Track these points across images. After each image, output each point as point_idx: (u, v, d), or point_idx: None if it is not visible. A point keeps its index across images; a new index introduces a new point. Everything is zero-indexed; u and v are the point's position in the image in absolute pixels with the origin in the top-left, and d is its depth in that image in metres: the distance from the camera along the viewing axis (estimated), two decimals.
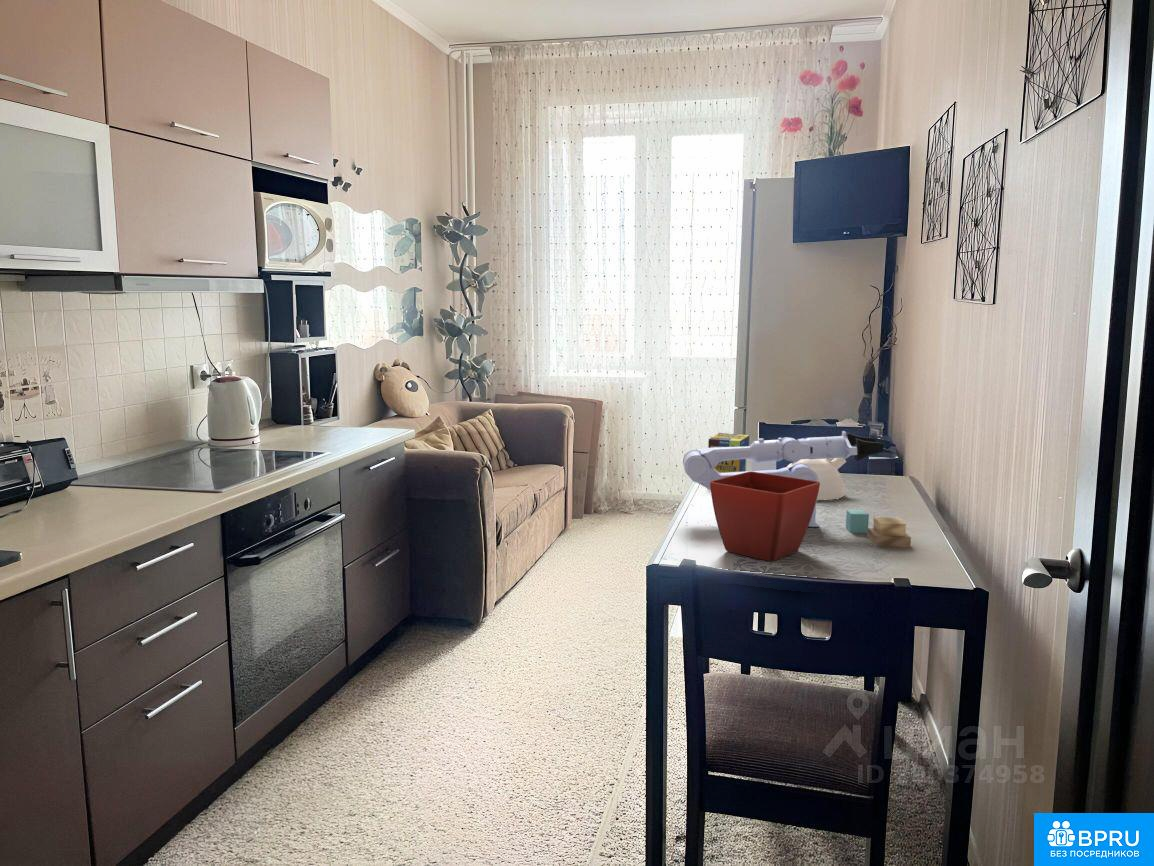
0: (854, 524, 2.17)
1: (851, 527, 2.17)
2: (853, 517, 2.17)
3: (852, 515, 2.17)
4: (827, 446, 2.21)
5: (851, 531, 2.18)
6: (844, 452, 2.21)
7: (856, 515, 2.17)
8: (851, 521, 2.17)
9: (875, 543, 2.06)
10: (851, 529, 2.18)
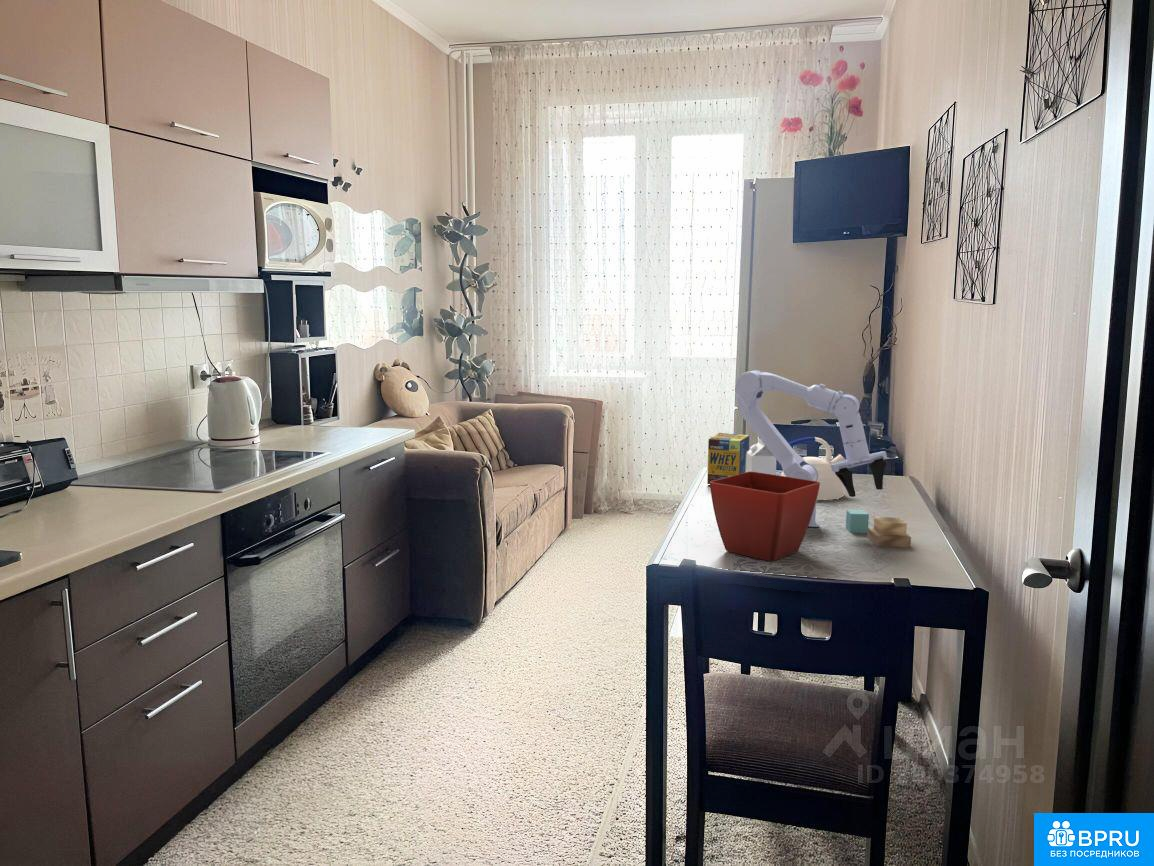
0: (854, 524, 2.17)
1: (851, 527, 2.17)
2: (853, 517, 2.17)
3: (852, 515, 2.17)
4: (846, 443, 2.17)
5: (851, 531, 2.18)
6: None
7: (856, 515, 2.17)
8: (851, 521, 2.17)
9: (875, 543, 2.06)
10: (851, 529, 2.18)
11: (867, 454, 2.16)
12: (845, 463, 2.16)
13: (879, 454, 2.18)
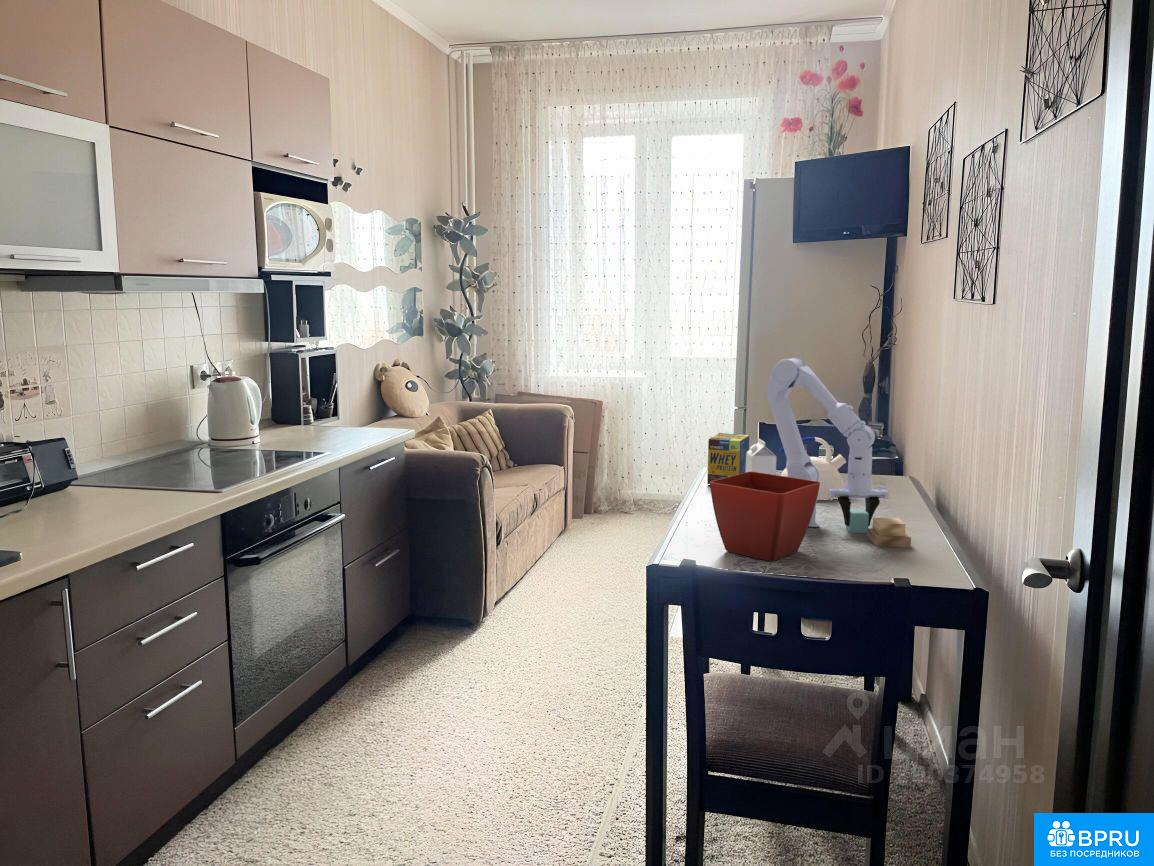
0: (854, 524, 2.17)
1: (852, 527, 2.17)
2: (853, 517, 2.17)
3: (852, 515, 2.17)
4: (849, 473, 2.17)
5: (851, 531, 2.18)
6: (847, 488, 2.19)
7: (856, 515, 2.17)
8: (851, 521, 2.17)
9: (875, 543, 2.06)
10: (851, 529, 2.18)
11: (867, 489, 2.16)
12: (842, 492, 2.17)
13: (880, 492, 2.17)
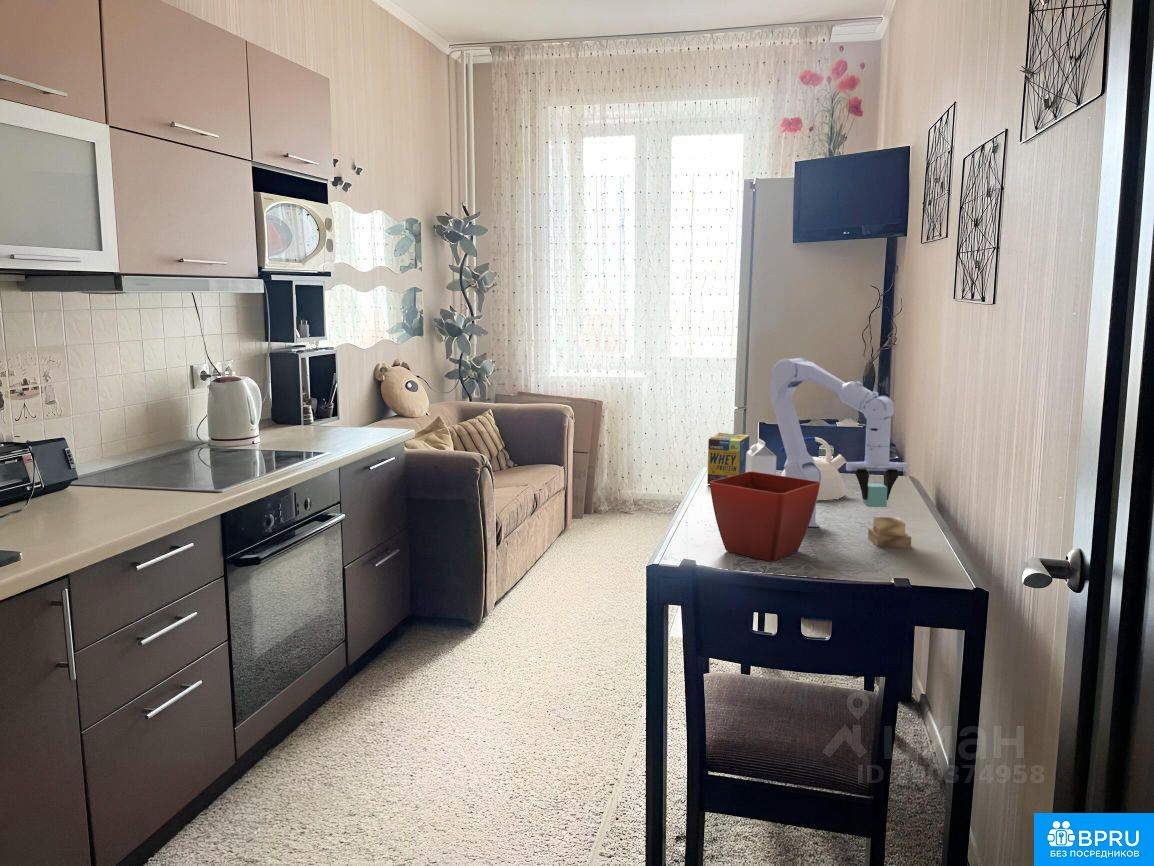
0: (872, 498, 2.10)
1: (870, 501, 2.11)
2: (871, 490, 2.10)
3: (870, 488, 2.10)
4: (867, 445, 2.10)
5: (869, 505, 2.11)
6: (864, 461, 2.13)
7: (874, 488, 2.10)
8: (869, 494, 2.10)
9: (875, 543, 2.05)
10: (869, 503, 2.11)
11: (885, 462, 2.09)
12: (860, 465, 2.10)
13: (899, 465, 2.10)
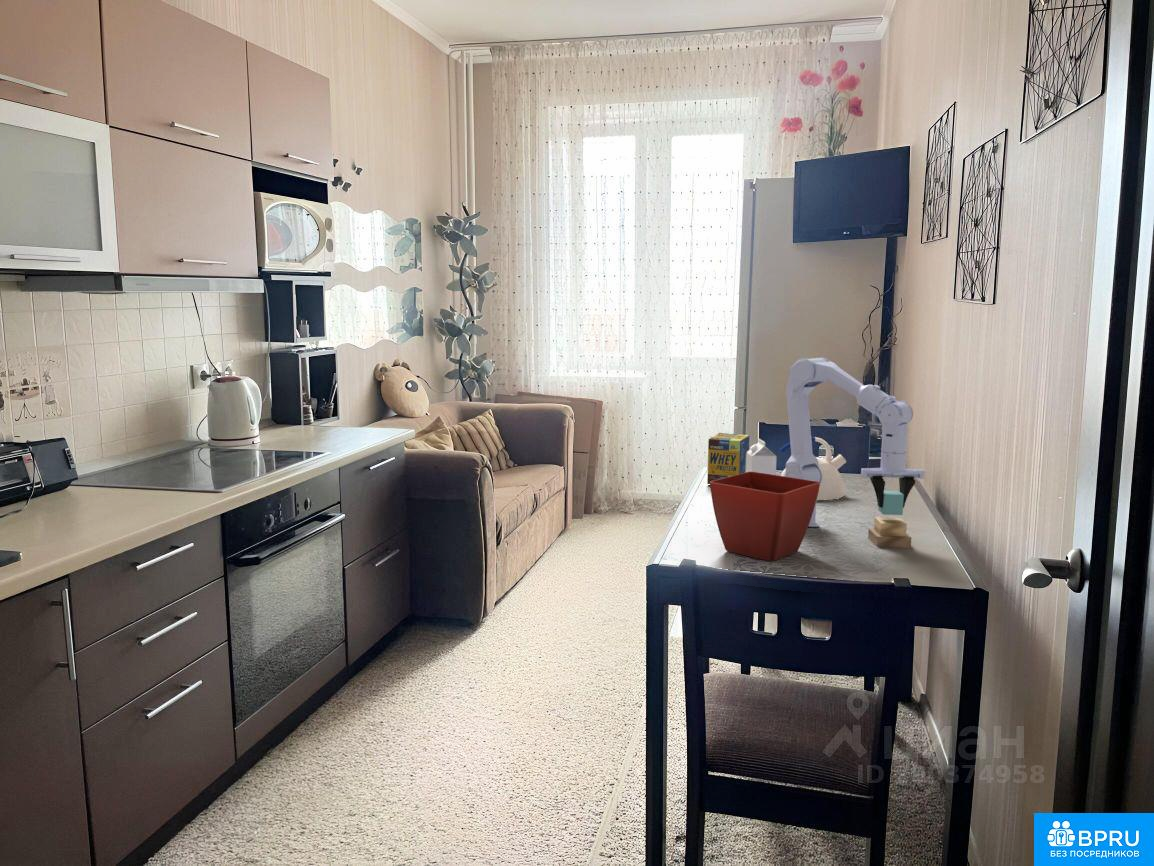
0: (888, 505, 2.05)
1: (885, 508, 2.05)
2: (887, 498, 2.05)
3: (886, 496, 2.05)
4: (883, 451, 2.05)
5: (885, 513, 2.05)
6: None
7: (890, 496, 2.05)
8: (885, 502, 2.05)
9: (875, 543, 2.05)
10: (885, 510, 2.05)
11: (902, 469, 2.03)
12: (875, 471, 2.05)
13: (916, 472, 2.04)
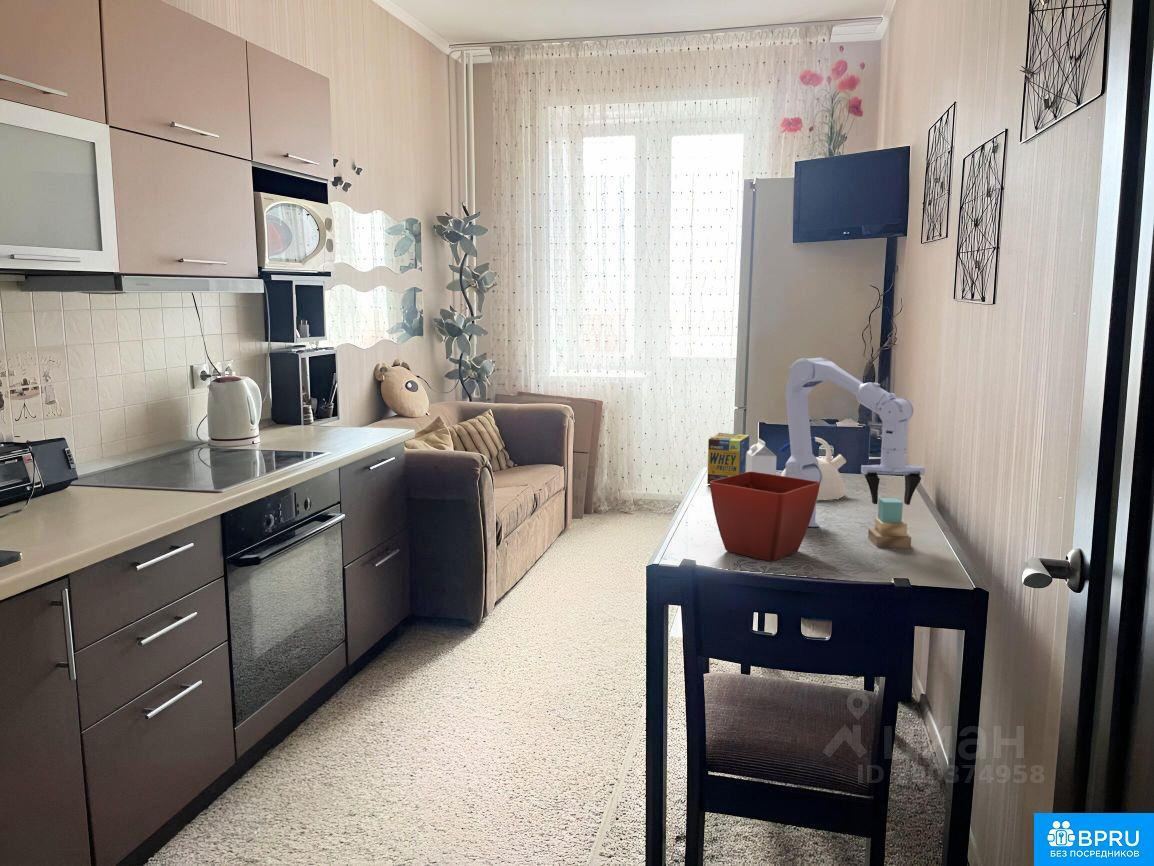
0: (887, 513, 2.06)
1: (884, 516, 2.06)
2: (886, 505, 2.05)
3: (885, 503, 2.05)
4: (883, 448, 2.05)
5: (884, 520, 2.06)
6: None
7: (889, 503, 2.05)
8: (884, 510, 2.06)
9: (875, 543, 2.05)
10: (884, 518, 2.06)
11: (902, 465, 2.03)
12: (875, 468, 2.05)
13: (916, 469, 2.04)
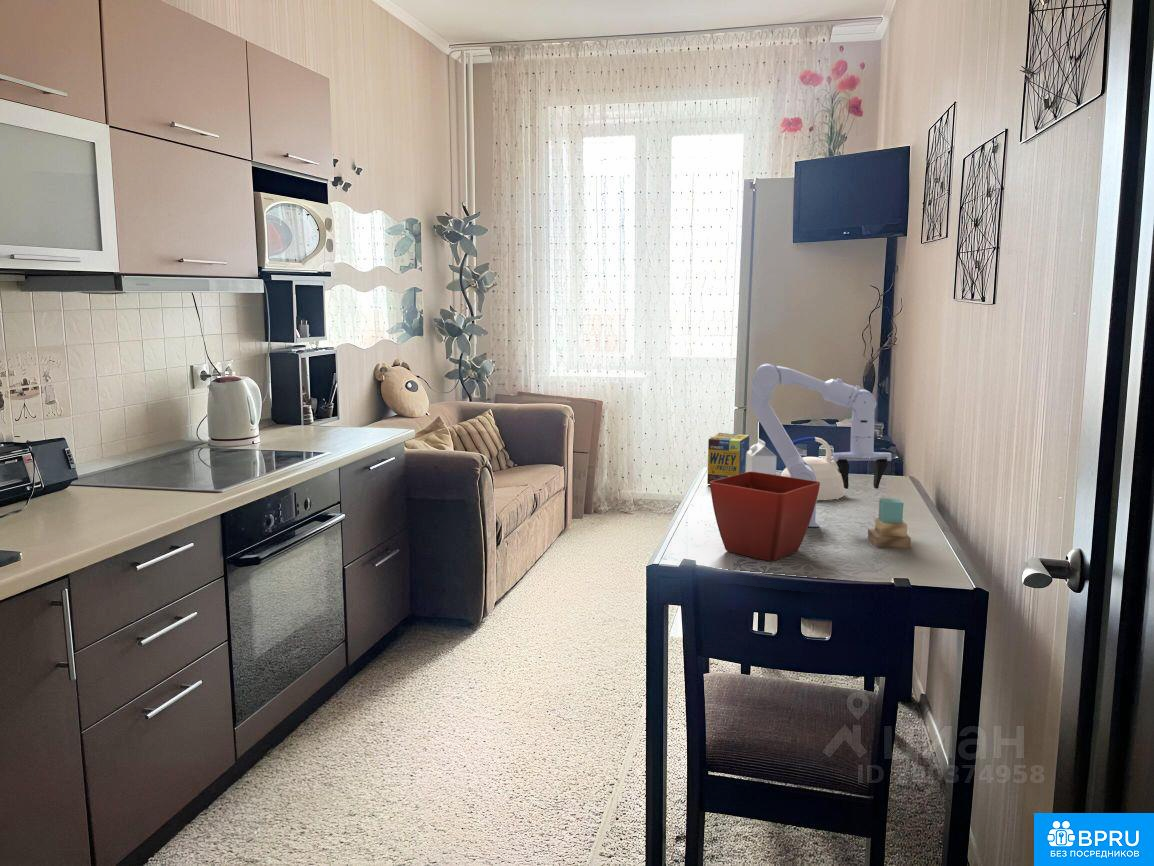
0: (887, 513, 2.05)
1: (885, 516, 2.06)
2: (886, 506, 2.05)
3: (885, 504, 2.05)
4: (852, 436, 2.20)
5: (884, 521, 2.06)
6: None
7: (890, 504, 2.05)
8: (884, 510, 2.05)
9: (875, 544, 2.05)
10: (884, 518, 2.06)
11: (870, 452, 2.18)
12: (845, 455, 2.20)
13: (883, 455, 2.19)
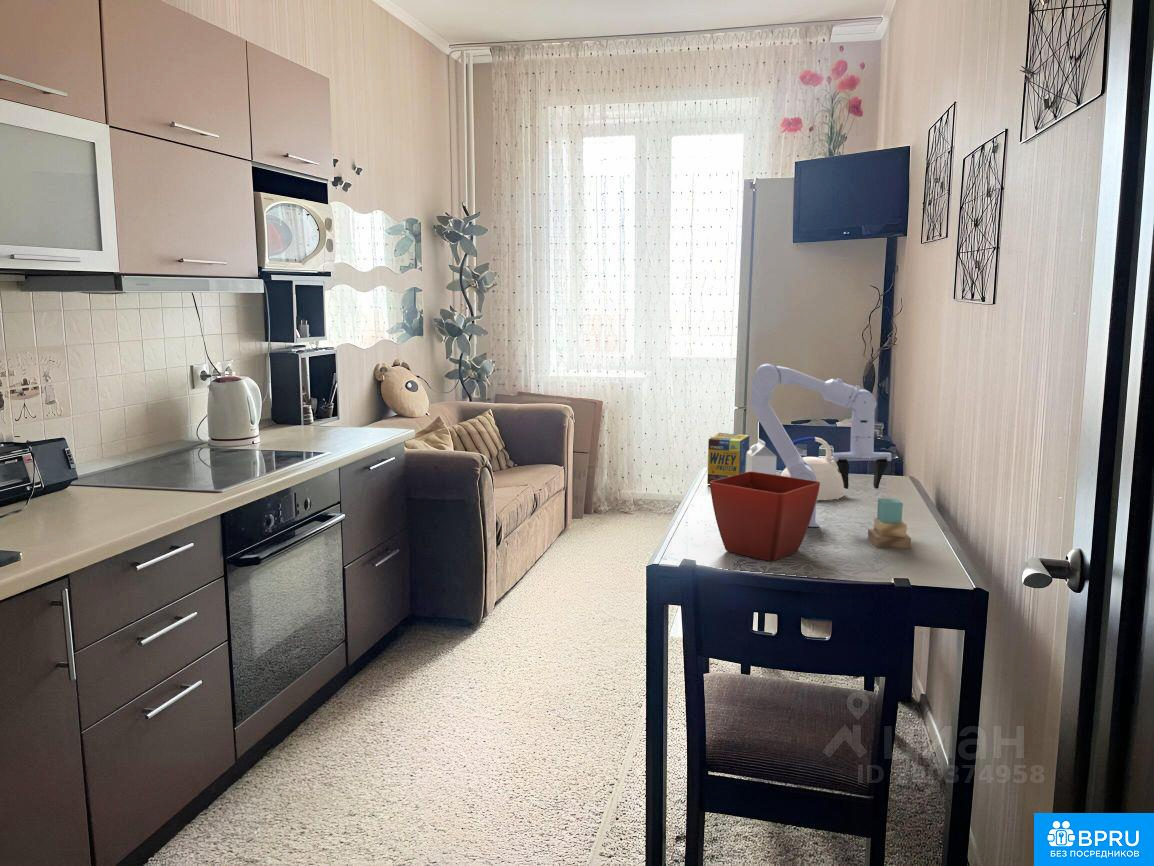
0: (887, 513, 2.05)
1: (884, 517, 2.05)
2: (886, 506, 2.05)
3: (885, 504, 2.05)
4: (852, 436, 2.20)
5: (884, 521, 2.05)
6: None
7: (889, 504, 2.05)
8: (884, 510, 2.05)
9: (875, 544, 2.05)
10: (884, 519, 2.05)
11: (870, 452, 2.18)
12: (845, 455, 2.20)
13: (883, 455, 2.19)
